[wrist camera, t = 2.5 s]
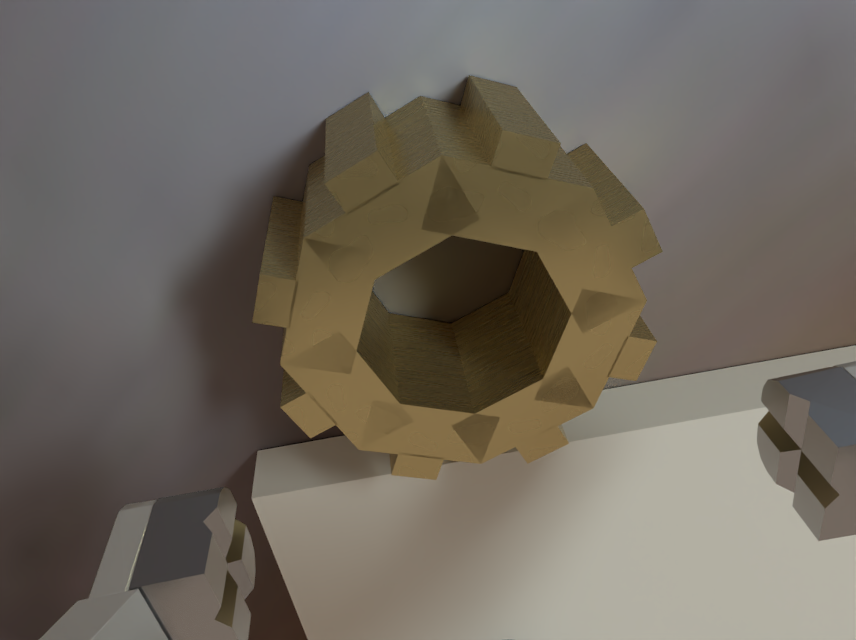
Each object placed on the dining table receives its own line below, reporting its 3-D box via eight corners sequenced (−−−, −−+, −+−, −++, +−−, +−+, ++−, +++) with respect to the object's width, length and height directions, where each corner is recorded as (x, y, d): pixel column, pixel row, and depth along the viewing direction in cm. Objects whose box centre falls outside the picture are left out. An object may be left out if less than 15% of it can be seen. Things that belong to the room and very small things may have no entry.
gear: (193, 203, 13) (160, 283, 11) (518, -4, 12) (567, 33, 9) (387, 428, 17) (396, 527, 14) (654, 289, 15) (714, 372, 13)
